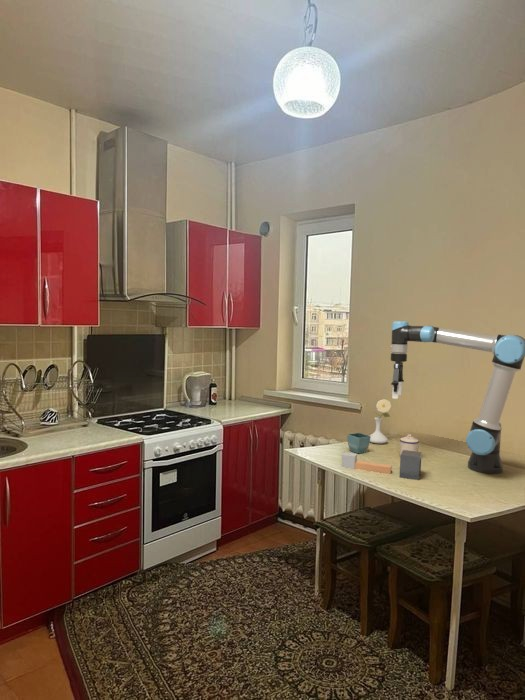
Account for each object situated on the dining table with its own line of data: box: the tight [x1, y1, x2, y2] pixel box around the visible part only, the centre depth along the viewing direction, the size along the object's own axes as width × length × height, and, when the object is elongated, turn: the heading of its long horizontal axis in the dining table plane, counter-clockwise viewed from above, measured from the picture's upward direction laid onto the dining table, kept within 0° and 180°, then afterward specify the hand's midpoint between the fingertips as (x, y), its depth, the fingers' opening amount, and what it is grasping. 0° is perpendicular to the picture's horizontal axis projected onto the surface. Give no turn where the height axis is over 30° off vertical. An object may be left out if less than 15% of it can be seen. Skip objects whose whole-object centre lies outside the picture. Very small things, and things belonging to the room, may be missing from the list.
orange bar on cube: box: [340, 452, 393, 475], centre depth 230 cm, size 22×5×6 cm, turn 68°
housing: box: [399, 450, 423, 481], centre depth 223 cm, size 8×10×10 cm
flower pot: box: [346, 432, 371, 454], centre depth 260 cm, size 9×9×9 cm
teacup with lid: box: [399, 433, 420, 457], centre depth 254 cm, size 12×9×12 cm
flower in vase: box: [369, 398, 392, 444], centre depth 281 cm, size 13×11×25 cm
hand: (397, 396), depth 245 cm, fingers open, 13 cm apart
